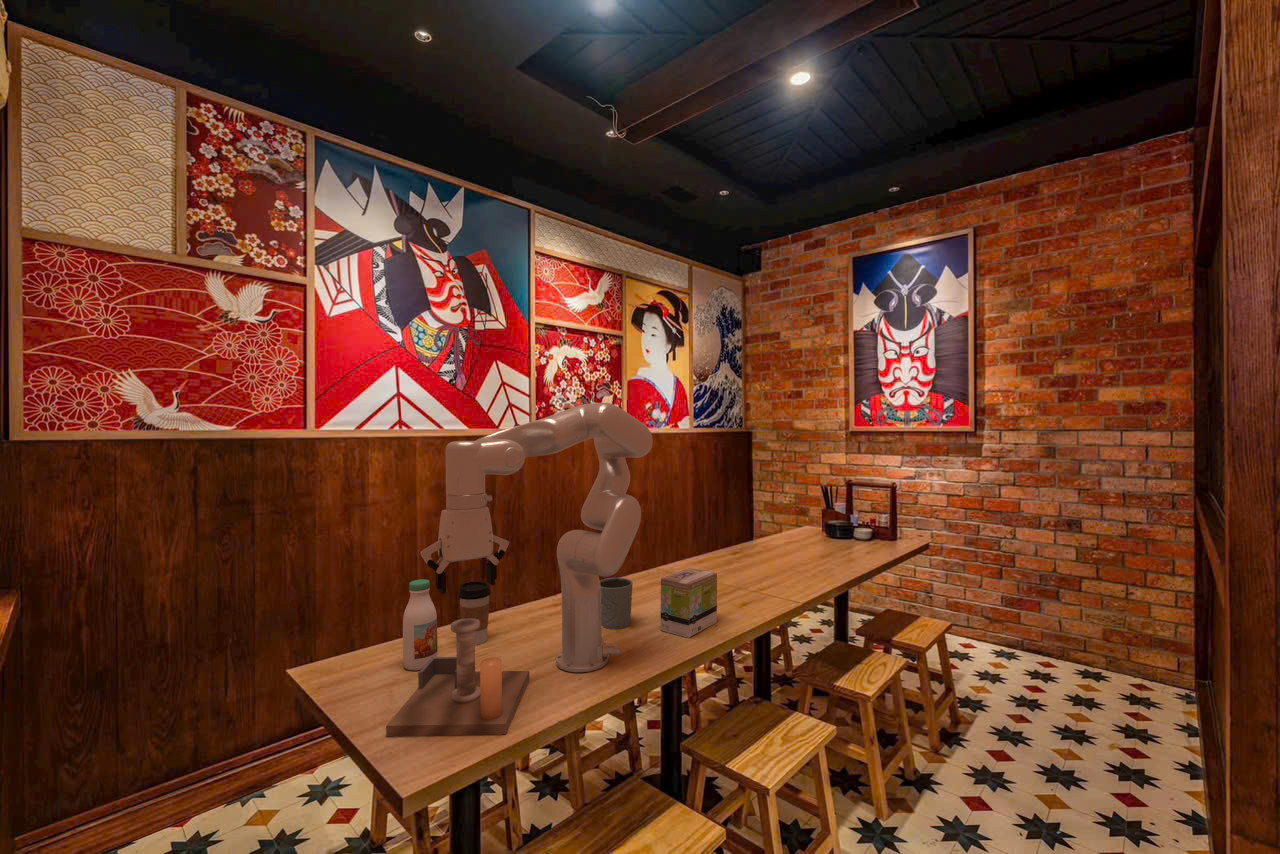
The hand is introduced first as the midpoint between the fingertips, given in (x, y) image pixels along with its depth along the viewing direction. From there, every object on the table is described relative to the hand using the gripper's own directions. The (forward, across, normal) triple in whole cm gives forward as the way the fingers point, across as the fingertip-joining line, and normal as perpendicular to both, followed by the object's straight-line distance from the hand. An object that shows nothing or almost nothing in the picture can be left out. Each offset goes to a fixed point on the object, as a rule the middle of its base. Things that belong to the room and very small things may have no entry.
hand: (466, 587), depth 109 cm
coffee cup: (+25, -12, -36) cm, 45 cm away
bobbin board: (+25, 0, -3) cm, 25 cm away
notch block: (+23, +2, -12) cm, 26 cm away
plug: (+23, -2, +8) cm, 24 cm away
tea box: (+25, -65, -10) cm, 70 cm away
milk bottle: (+25, +3, -29) cm, 38 cm away
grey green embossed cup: (+25, -49, -24) cm, 60 cm away
